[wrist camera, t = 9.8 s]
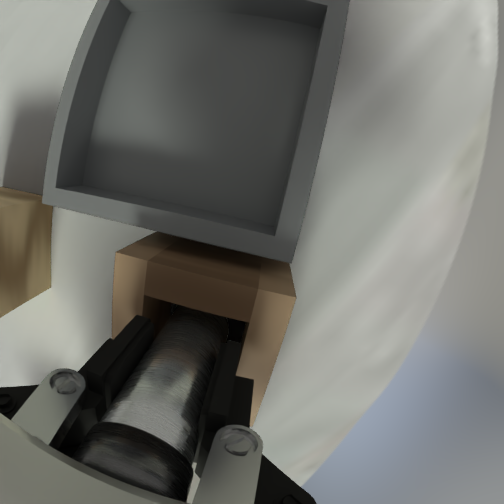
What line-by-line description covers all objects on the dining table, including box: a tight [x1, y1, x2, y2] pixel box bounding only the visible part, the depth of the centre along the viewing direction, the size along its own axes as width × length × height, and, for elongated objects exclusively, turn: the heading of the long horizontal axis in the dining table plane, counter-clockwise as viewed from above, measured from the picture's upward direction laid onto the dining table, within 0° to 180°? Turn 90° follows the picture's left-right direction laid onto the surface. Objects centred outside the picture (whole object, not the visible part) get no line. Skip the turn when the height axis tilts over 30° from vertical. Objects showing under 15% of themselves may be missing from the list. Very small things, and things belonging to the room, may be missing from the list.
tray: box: [42, 0, 350, 263], centre depth 12 cm, size 12×12×3 cm
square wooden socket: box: [112, 232, 296, 426], centre depth 14 cm, size 7×7×4 cm
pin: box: [72, 305, 229, 502], centre depth 9 cm, size 3×3×10 cm
